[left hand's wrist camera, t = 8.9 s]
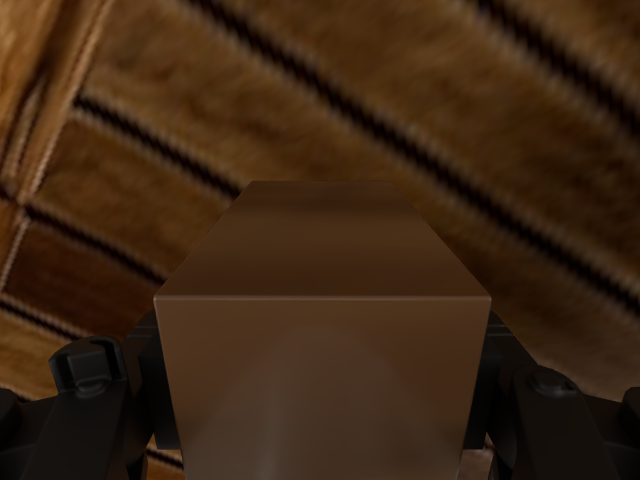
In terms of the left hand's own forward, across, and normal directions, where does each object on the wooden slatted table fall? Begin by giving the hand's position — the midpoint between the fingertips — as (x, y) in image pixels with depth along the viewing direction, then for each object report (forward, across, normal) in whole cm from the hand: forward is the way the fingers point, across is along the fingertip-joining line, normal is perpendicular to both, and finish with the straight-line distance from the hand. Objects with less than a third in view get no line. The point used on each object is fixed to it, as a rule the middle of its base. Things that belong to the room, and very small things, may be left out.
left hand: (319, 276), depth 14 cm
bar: (+1, 0, -8) cm, 8 cm away
